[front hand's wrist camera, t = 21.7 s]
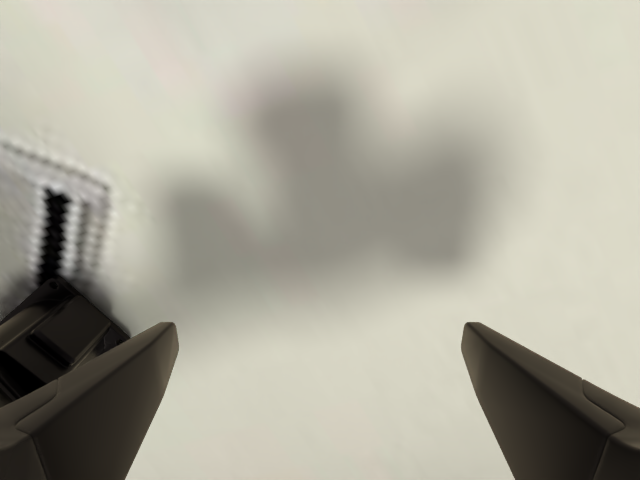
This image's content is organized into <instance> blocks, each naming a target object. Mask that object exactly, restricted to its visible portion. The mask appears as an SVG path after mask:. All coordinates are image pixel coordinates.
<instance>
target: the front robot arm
mask: <svg viewBox="0 0 640 480" xmlns="http://www.w3.org/2000/svg"><path fill="white" fill-rule="evenodd" d="M54 282H55V283H57V285H58V286H56V285H55V284H54ZM120 340H122V341H123V342H121V341H120ZM178 350H179V343H178V336H177V330H176V325H175V324H174V323H173V322H161V323H158V324H157V325H155V326H153V327H151V328H149V329H147V330H146V331H144V332H142V333H140V334H138V335H136V336H135V337H133V338H131V339H130V338H129V336H128V335H127V334H126V333H124V332H123V331H122V330H121V329H120V328H119V327H118V326H116V325H115V324H114V323H113V322H112V321H111V320H110V319H108V318H107V317H106V316H105V315H104V314H103V313H102V312H101V311H99V310H98V309H97V308H96V307H95V306H94V305H93V304H91V303H90V302H89V301H88V300H87V299H86V298H85V297H83V296H82V295H81V294H80V293H79V292H78V291H77V290H76V289H74V288H73V287H72V286H71V285H70V284H69V283H68V282H66V281H65V280H64V279H63V278H61V277H59V276H53V277H51V278H50V279H48V280H47V281H46V282H45V283H44V284H43V285H41V286H40V287H39V288H38V289H37V290H36V291H35V292H33V293H32V294H31V295H30V296H29V297H28V298H27V299H26V300H24V301H23V302H22V303H21V304H20V305H19V306H18V307H16V308H15V309H14V310H13V311H12V312H11V313H10V314H9V315H7V316H6V317H5V318H4V319H3V320H2V321H1V322H0V480H125V478H126V476H127V474H128V472H129V470H130V467H131V465H132V463H133V461H134V459H135V457H136V455H137V452H138V450H139V448H140V446H141V444H142V442H143V439H144V437H145V435H146V433H147V431H148V429H149V427H150V424H151V422H152V420H153V418H154V416H155V414H156V411H157V409H158V407H159V405H160V403H161V400H162V398H163V396H164V393H165V390H166V388H167V385H168V381H169V378H170V375H171V372H172V369H173V366H174V363H175V360H176V357H177V354H178ZM461 350H462V354H463V357H464V360H465V363H466V366H467V369H468V372H469V375H470V378H471V381H472V384H473V388H474V390H475V393H476V396H477V398H478V400H479V403H480V405H481V407H482V409H483V411H484V414H485V416H486V418H487V420H488V422H489V424H490V427H491V429H492V431H493V433H494V435H495V437H496V439H497V442H498V444H499V446H500V448H501V450H502V452H503V455H504V457H505V459H506V461H507V463H508V465H509V467H510V470H511V472H512V474H513V476H514V478H515V480H640V408H639V407H636V406H634V405H632V404H630V403H628V402H626V401H624V400H622V399H620V398H618V397H616V396H614V395H612V394H611V393H609V392H607V391H605V390H603V389H601V388H599V387H597V386H595V385H594V384H592V383H590V382H588V381H586V380H582V378H581V377H579V376H577V375H575V374H573V373H571V372H570V371H568V370H566V369H564V368H562V367H560V366H559V365H557V364H555V363H553V362H551V361H549V360H548V359H546V358H544V357H542V356H540V355H538V354H537V353H535V352H533V351H531V350H529V349H527V348H526V347H524V346H522V345H520V344H518V343H516V342H515V341H513V340H511V339H509V338H507V337H505V336H504V335H502V334H500V333H498V332H496V331H494V330H493V329H491V328H489V327H487V326H485V325H483V324H482V323H479V322H467V323H466V324H465V325H464V330H463V336H462V343H461Z"/></svg>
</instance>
